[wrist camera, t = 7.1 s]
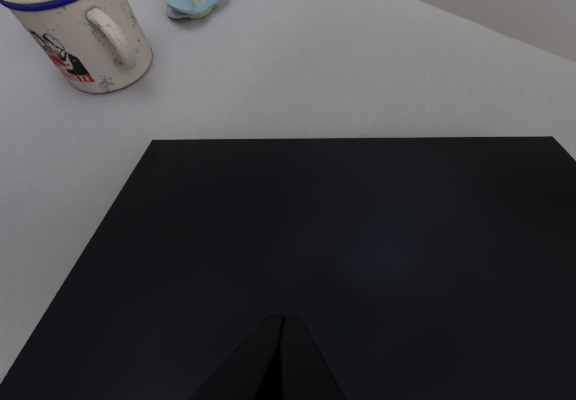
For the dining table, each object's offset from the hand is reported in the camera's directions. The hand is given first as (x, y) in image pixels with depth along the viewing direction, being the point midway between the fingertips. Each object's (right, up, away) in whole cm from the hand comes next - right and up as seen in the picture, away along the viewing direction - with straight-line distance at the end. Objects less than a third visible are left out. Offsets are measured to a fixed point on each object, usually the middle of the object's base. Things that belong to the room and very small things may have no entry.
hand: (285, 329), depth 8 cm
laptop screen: (+4, 0, +8) cm, 9 cm away
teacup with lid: (-17, +16, +24) cm, 34 cm away
